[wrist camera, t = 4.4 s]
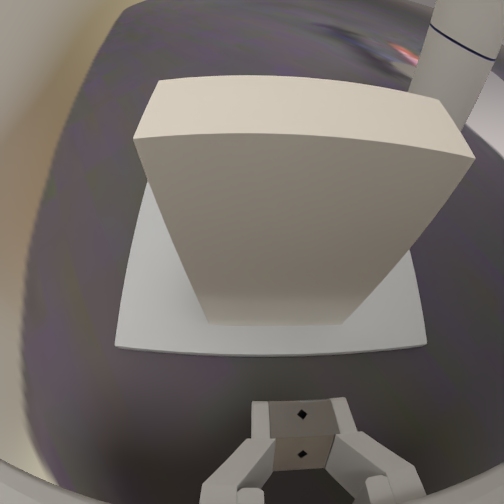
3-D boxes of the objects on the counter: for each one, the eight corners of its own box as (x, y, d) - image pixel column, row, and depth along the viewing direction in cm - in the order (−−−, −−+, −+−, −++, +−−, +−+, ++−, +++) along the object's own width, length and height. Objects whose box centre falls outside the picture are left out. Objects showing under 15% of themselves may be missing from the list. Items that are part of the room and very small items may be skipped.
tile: (337, 282, 19) (435, 94, 7) (341, 324, 18) (475, 158, 6) (212, 282, 19) (161, 75, 7) (209, 324, 18) (132, 139, 6)
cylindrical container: (385, 119, 29) (438, -85, 8) (418, 107, 31) (469, -63, 9) (434, 160, 27) (518, -53, 5) (460, 143, 28) (533, -32, 7)
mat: (370, 139, 28) (372, 133, 27) (421, 346, 18) (427, 343, 17) (165, 134, 28) (163, 128, 27) (119, 348, 18) (114, 345, 17)
